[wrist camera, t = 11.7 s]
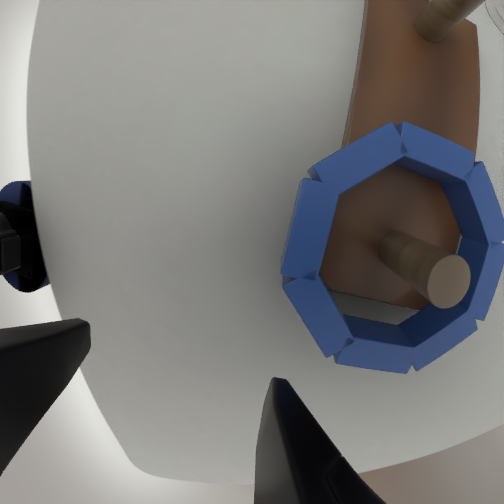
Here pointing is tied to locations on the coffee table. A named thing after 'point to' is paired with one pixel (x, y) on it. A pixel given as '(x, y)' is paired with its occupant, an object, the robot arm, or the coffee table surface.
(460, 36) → the rack
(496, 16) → the chalice
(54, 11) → the coffee table surface
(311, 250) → the ring
